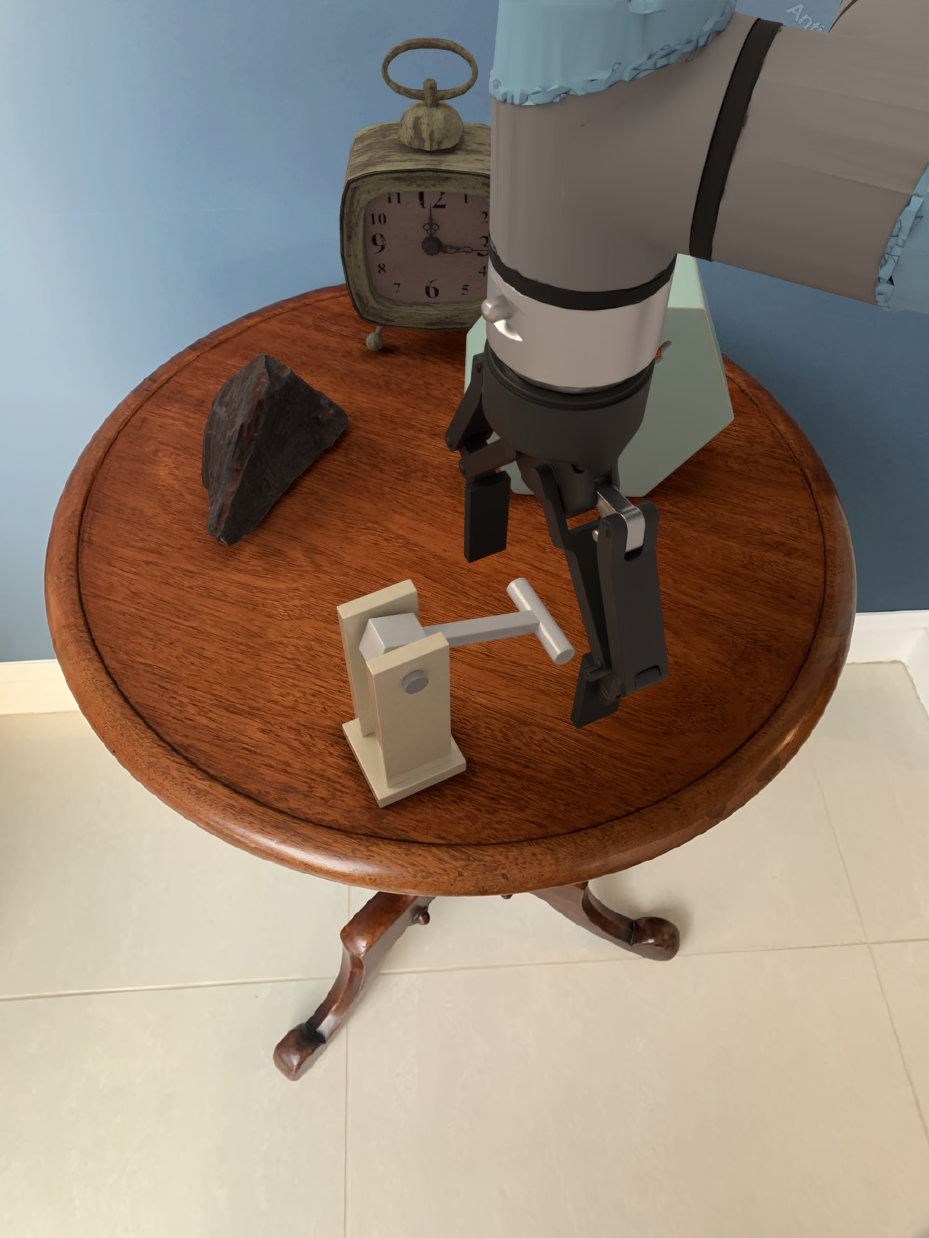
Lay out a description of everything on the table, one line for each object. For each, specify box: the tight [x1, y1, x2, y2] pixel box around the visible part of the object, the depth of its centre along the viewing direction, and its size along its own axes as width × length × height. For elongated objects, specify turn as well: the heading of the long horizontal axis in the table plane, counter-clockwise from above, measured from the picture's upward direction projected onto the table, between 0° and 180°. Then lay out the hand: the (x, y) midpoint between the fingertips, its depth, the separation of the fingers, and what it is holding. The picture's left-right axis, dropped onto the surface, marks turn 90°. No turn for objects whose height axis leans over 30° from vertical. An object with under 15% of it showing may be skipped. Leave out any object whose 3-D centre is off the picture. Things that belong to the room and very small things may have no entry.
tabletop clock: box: [338, 37, 491, 352], centre depth 79 cm, size 14×9×25 cm, turn 89°
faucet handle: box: [359, 577, 576, 666], centre depth 56 cm, size 12×6×2 cm, turn 117°
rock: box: [200, 352, 351, 547], centre depth 74 cm, size 7×18×9 cm, turn 152°
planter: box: [463, 254, 735, 498], centre depth 72 cm, size 17×8×21 cm
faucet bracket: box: [336, 578, 467, 809], centre depth 57 cm, size 6×6×14 cm
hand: (536, 629), depth 59 cm, fingers open, 13 cm apart
